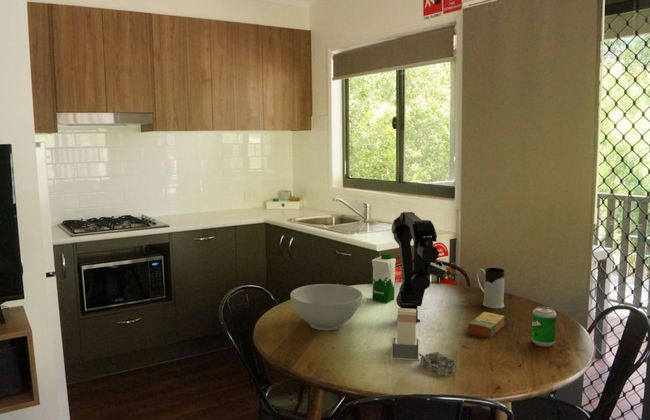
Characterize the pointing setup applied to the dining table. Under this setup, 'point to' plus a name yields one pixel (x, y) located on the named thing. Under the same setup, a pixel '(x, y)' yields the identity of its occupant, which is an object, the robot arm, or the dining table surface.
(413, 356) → the box holder
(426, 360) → the grey lumpy piece
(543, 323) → the soda can
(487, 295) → the white and black pitcher
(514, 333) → the dining table surface
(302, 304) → the decorative bowl
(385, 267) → the milk carton
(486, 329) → the carton
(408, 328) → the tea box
